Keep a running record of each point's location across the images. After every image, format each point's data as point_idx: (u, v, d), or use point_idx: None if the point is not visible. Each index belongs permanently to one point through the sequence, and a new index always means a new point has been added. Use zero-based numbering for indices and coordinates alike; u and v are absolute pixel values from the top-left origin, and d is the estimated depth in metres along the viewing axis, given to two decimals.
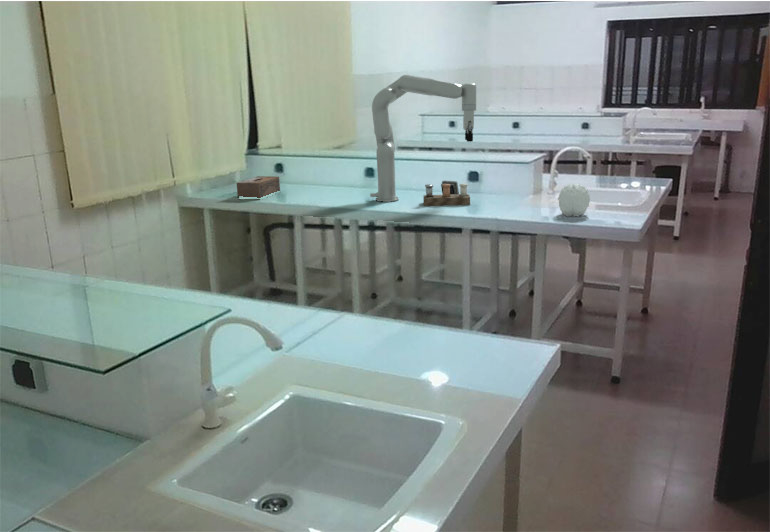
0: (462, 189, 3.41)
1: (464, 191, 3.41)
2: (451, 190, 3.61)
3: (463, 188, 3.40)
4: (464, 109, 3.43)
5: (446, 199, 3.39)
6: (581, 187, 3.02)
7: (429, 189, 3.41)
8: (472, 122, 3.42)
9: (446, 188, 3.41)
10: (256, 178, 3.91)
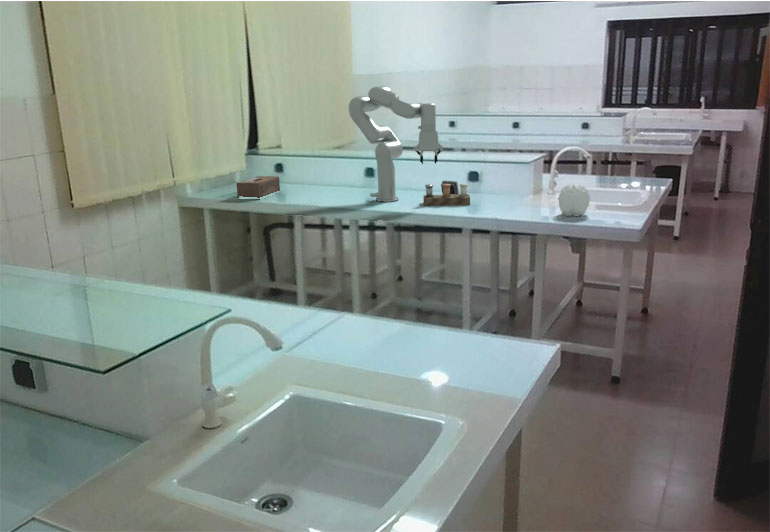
0: (462, 189, 3.41)
1: (464, 191, 3.41)
2: (451, 190, 3.61)
3: (463, 188, 3.40)
4: (433, 129, 3.32)
5: (446, 199, 3.39)
6: (581, 187, 3.02)
7: (429, 189, 3.41)
8: None
9: (446, 188, 3.41)
10: (256, 178, 3.91)
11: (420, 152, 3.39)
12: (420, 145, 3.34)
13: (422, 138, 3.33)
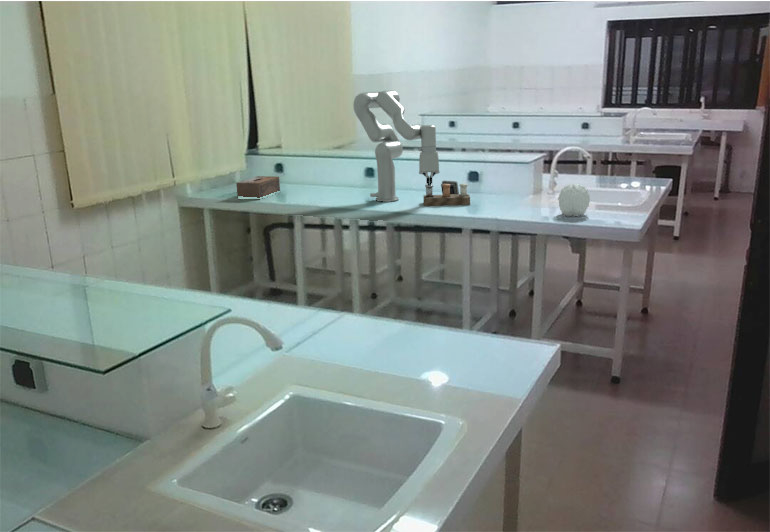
0: (462, 189, 3.41)
1: (464, 191, 3.41)
2: (451, 190, 3.61)
3: (463, 188, 3.40)
4: (434, 151, 3.35)
5: (446, 199, 3.39)
6: (581, 187, 3.02)
7: (429, 189, 3.41)
8: None
9: (446, 188, 3.41)
10: (256, 178, 3.91)
11: None
12: (421, 166, 3.37)
13: (422, 159, 3.36)
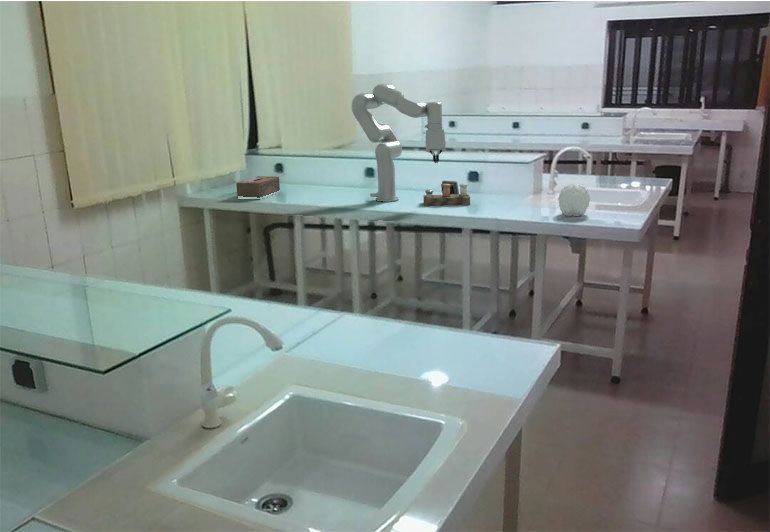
0: (462, 189, 3.41)
1: (464, 191, 3.41)
2: (451, 190, 3.61)
3: (463, 188, 3.40)
4: (440, 128, 3.31)
5: (446, 199, 3.39)
6: (581, 187, 3.02)
7: (429, 194, 3.42)
8: None
9: (446, 188, 3.41)
10: (256, 178, 3.91)
11: None
12: (427, 144, 3.34)
13: (429, 137, 3.33)
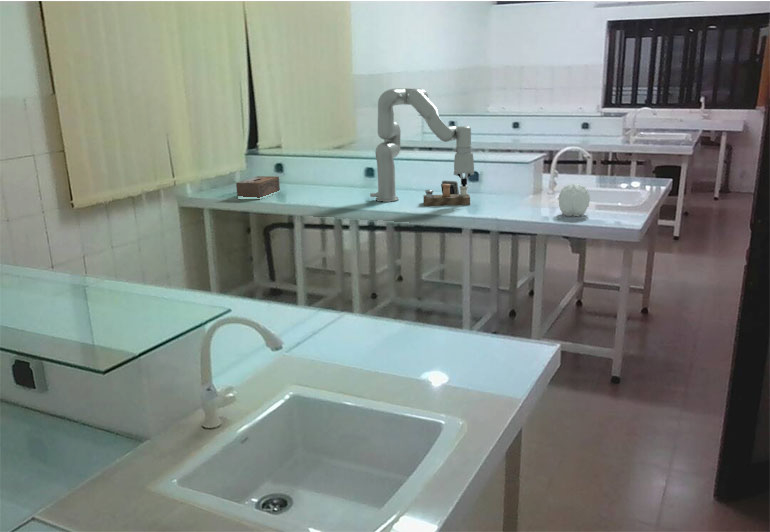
0: (462, 191, 3.41)
1: (464, 193, 3.41)
2: (451, 190, 3.61)
3: (463, 190, 3.41)
4: (469, 152, 3.34)
5: (446, 199, 3.39)
6: (581, 187, 3.02)
7: (429, 194, 3.42)
8: None
9: (446, 188, 3.41)
10: (256, 178, 3.91)
11: None
12: (456, 167, 3.37)
13: (458, 161, 3.35)
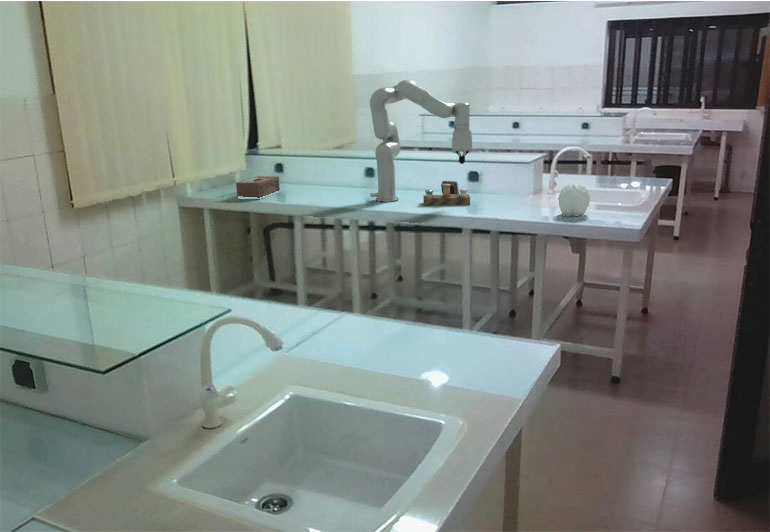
0: (462, 194, 3.41)
1: (464, 196, 3.42)
2: (451, 190, 3.61)
3: (463, 193, 3.41)
4: (467, 129, 3.31)
5: (446, 199, 3.39)
6: (581, 187, 3.02)
7: (429, 194, 3.42)
8: None
9: (446, 188, 3.41)
10: (256, 178, 3.91)
11: None
12: (454, 144, 3.33)
13: (456, 137, 3.32)
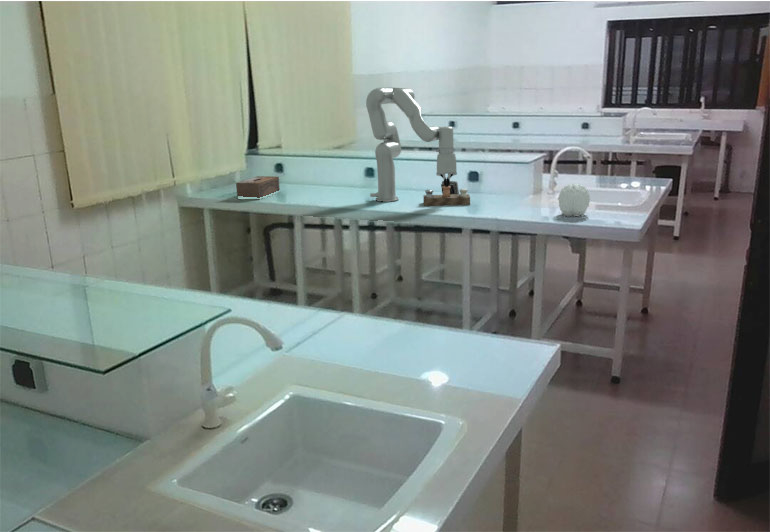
0: (462, 194, 3.41)
1: (464, 196, 3.42)
2: (451, 190, 3.61)
3: (463, 193, 3.41)
4: (451, 152, 3.35)
5: (446, 199, 3.39)
6: (581, 187, 3.02)
7: (429, 194, 3.42)
8: None
9: (446, 190, 3.41)
10: (256, 178, 3.91)
11: None
12: (438, 168, 3.37)
13: (440, 161, 3.36)
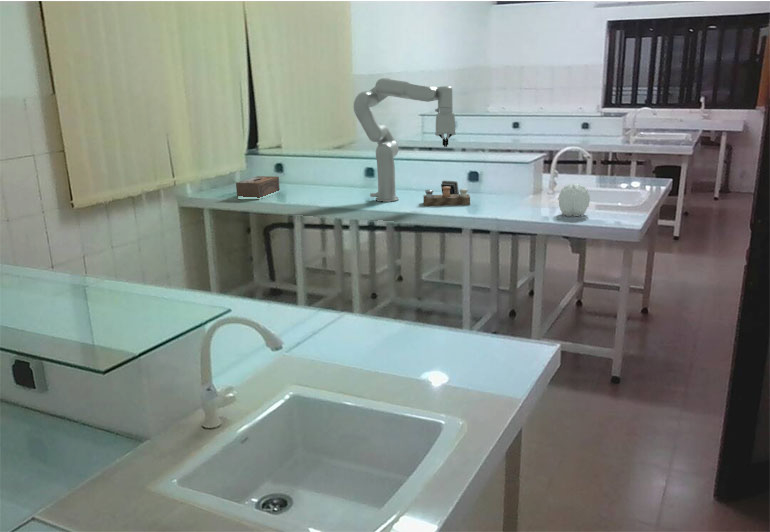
0: (462, 194, 3.41)
1: (464, 196, 3.42)
2: (451, 190, 3.61)
3: (463, 193, 3.41)
4: (450, 112, 3.36)
5: (446, 199, 3.39)
6: (581, 187, 3.02)
7: (429, 194, 3.42)
8: None
9: (446, 191, 3.41)
10: (256, 178, 3.91)
11: None
12: (437, 128, 3.38)
13: (439, 121, 3.37)
